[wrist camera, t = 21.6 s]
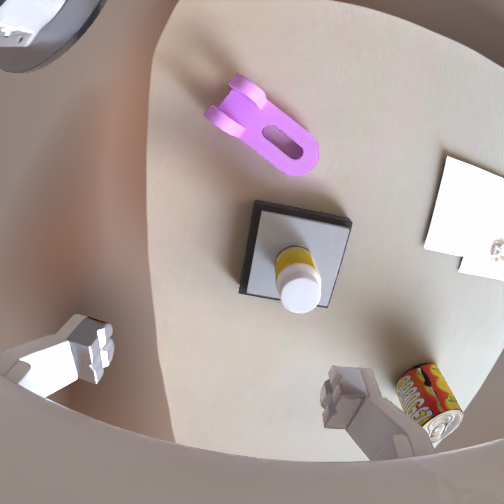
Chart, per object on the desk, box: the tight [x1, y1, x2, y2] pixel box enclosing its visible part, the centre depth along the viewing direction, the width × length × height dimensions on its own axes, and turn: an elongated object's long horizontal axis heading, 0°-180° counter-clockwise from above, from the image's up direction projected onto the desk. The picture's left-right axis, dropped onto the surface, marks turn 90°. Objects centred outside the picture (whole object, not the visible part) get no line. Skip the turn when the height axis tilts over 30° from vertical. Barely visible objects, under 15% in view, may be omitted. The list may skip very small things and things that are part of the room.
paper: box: [424, 156, 504, 281], centre depth 36 cm, size 25×17×1 cm
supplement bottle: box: [275, 244, 321, 313], centre depth 33 cm, size 5×5×8 cm
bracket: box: [203, 73, 320, 176], centre depth 31 cm, size 13×6×7 cm, turn 52°
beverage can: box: [396, 363, 463, 443], centre depth 42 cm, size 9×9×12 cm
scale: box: [239, 200, 352, 308], centre depth 39 cm, size 12×12×3 cm
